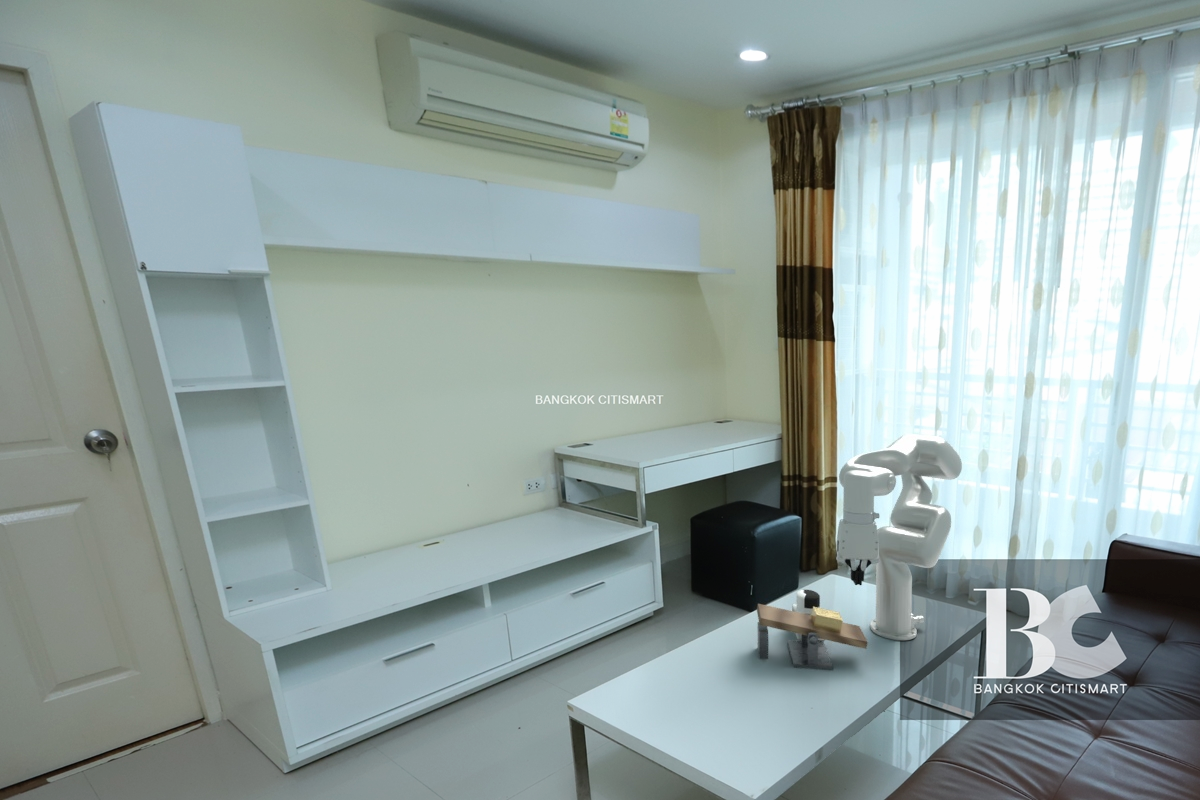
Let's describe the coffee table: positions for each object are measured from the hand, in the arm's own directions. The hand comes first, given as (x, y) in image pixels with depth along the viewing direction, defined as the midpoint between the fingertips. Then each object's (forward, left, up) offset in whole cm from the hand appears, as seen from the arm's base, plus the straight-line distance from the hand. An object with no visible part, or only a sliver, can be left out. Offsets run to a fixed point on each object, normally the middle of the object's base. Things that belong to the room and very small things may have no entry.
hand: (857, 583), depth 161 cm
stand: (+15, -7, -22) cm, 27 cm away
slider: (+7, -4, -13) cm, 15 cm away
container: (+4, -16, -22) cm, 28 cm away
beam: (+11, -5, -14) cm, 18 cm away
